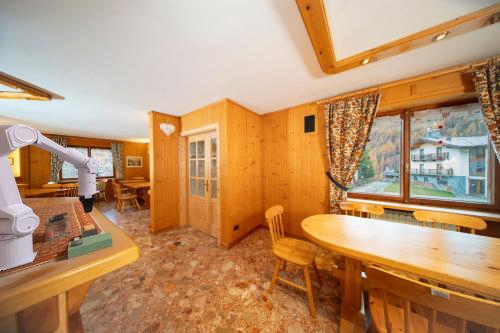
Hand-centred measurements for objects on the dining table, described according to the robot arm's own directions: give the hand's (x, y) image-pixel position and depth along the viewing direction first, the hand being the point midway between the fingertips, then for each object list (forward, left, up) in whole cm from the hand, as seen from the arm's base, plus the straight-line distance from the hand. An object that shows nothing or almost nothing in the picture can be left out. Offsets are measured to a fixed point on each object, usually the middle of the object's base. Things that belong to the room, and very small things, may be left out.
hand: (88, 211), depth 72 cm
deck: (0, -20, -9) cm, 22 cm away
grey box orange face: (0, -9, -10) cm, 13 cm away
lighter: (-9, +1, -10) cm, 13 cm away
